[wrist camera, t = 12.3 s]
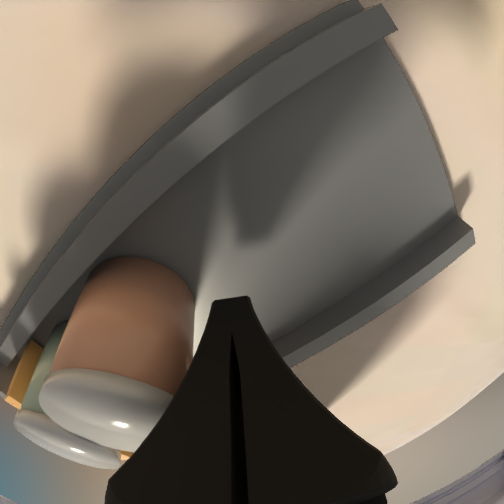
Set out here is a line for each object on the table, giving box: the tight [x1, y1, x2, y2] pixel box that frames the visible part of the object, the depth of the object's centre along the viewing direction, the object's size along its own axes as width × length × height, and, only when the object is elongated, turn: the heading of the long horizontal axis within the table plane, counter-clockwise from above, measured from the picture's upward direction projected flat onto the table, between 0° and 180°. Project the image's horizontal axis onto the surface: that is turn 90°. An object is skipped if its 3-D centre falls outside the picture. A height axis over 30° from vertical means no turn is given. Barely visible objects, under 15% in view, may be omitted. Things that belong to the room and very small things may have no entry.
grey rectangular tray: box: [0, 0, 475, 399], centre depth 12 cm, size 12×26×4 cm, turn 127°
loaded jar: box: [14, 321, 121, 469], centre depth 11 cm, size 5×5×6 cm
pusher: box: [5, 340, 133, 460], centre depth 13 cm, size 8×1×5 cm, turn 37°
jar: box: [39, 257, 195, 452], centre depth 10 cm, size 5×5×6 cm
